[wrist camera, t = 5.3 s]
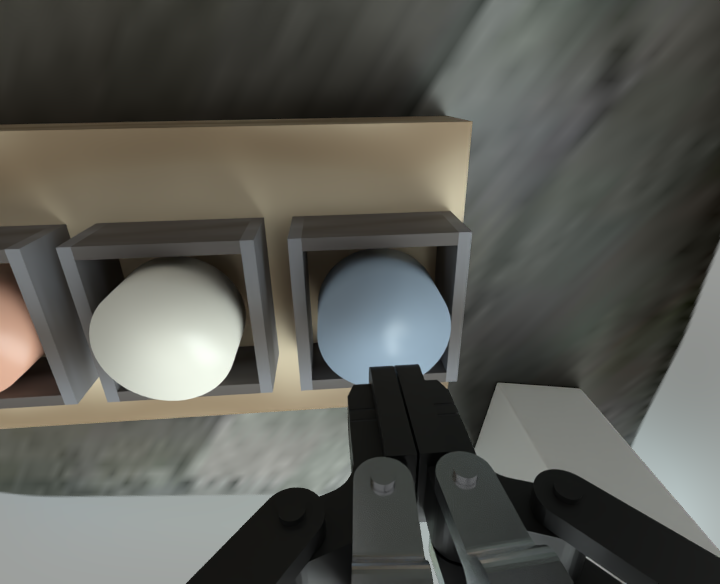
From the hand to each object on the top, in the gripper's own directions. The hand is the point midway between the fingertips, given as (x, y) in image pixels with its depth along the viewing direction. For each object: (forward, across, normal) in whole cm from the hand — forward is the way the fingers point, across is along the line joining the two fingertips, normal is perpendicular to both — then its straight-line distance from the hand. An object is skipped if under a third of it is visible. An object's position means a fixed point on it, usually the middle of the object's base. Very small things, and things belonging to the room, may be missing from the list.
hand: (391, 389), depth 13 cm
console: (+12, +8, 0) cm, 14 cm away
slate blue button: (+6, 0, 0) cm, 6 cm away
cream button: (+6, +8, 0) cm, 10 cm away
